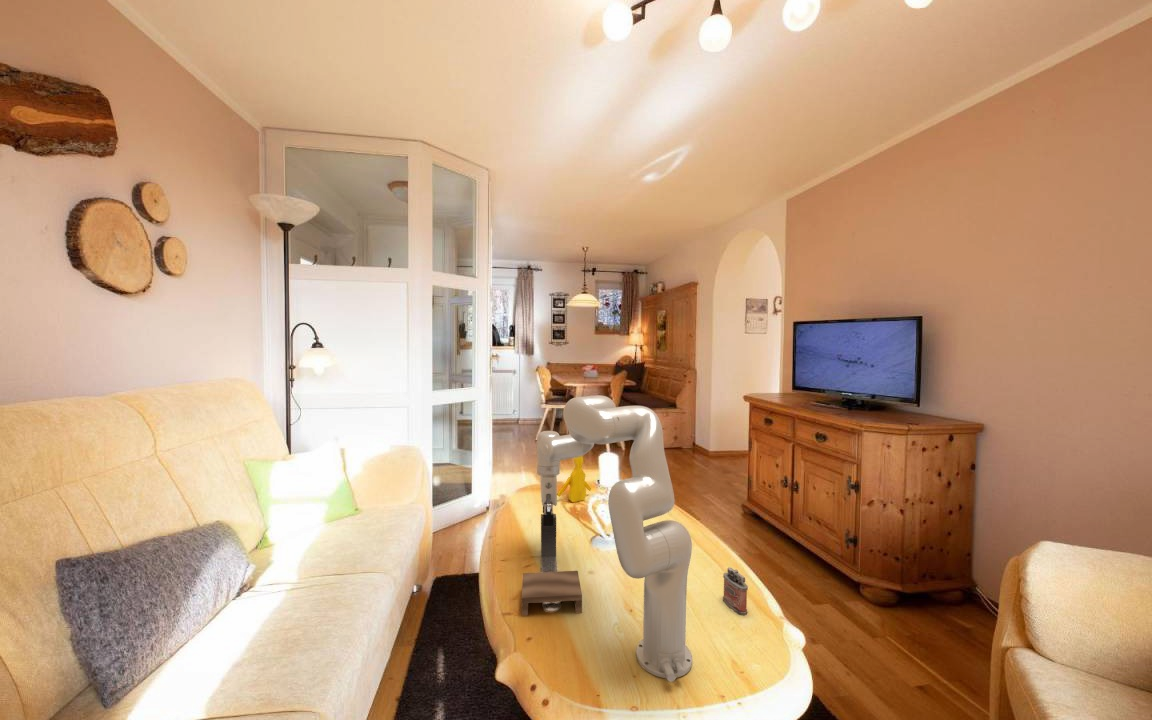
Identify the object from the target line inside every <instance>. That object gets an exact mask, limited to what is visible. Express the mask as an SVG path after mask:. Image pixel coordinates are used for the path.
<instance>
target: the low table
mask: <svg viewBox="0 0 1152 720" xmlns="http://www.w3.org/2000/svg"><path fill="white" fill-rule="evenodd" d="M579 576H580V575H579V570H563V571H558V572H524V573H522V584H521V585H522V586H521V617H528V615H529V604H531V603H533V604H535V603H543V602H557V601H560V602H570V601H571V602H573V603H574V608H575V613H576V614H582V613H583V591H582V587H581V582H580V577H579Z"/></svg>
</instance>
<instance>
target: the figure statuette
mask: <svg viewBox="0 0 1152 720" xmlns="http://www.w3.org/2000/svg"><path fill="white" fill-rule="evenodd" d="M573 463H574V468H573V470H572V472H570V475H569V477H567V480H566V481H565V483H563V484H564V485H562V487H561V488H560V489H559V491H557V497H559V498H560V497H561V495H562V494H563V493H564V491H565V490H566V489H567V488H568V486H569V488H568V494H567V495H568V498H567V499H568V501H570V502H571V503H577V502H581V501H585V500H586V496H587V490H588V492H589V491H590V492H591V490H592V487H591V486H590V485H589V484H588V482H587V481H586V473H585V472H584V469H583V468H582V466H583V464H584V455H583V456H580V457H577V458H573ZM586 489H587V490H586Z"/></svg>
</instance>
